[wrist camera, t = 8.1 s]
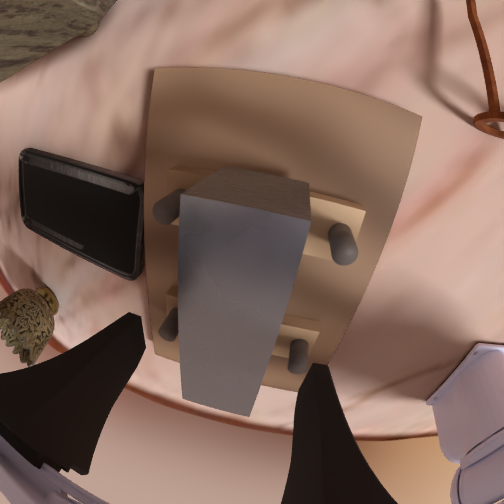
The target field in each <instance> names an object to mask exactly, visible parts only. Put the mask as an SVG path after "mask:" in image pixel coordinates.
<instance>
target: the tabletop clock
mask: <svg viewBox="0 0 504 504" xmlns="http://www.w3.org/2000/svg"><path fill="white" fill-rule="evenodd" d="M116 1H117V0H0V82H1V81H3V80H5V79H7V78H9V77H11V76H12V75H14V74H15V73H17V72H18V71H20V70H21V69H23V68H24V67H26V66H28V65H29V64H31V63H32V62H34V61H36V60H37V59H39V58H41V57H43V56H44V55H46V54H47V53H49V52H51V51H52V50H54V49H55V48H57V47H59V46H60V45H62V44H64V43H65V42H67V41H69V40H71V39H73V38H74V37H76V36H78V35H80V36H89V35H91V34H93V33H94V32H95V31H96V30H97V28H98V21H100V20H101V19H102V17H103V16H104V15H105V14H106V12H107V11H108V10H109V9H110V8H111V7H112V5H113V4H114V3H115V2H116Z"/></svg>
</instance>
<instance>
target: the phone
mask: <svg viewBox="0 0 504 504" xmlns="http://www.w3.org/2000/svg"><path fill="white" fill-rule="evenodd" d="M19 193H20V207H21V216H22V220H23V222H24V224H25V226H26V227H27V228H29V229H30V230H32V231H34V232H35V233H37V234H39V235H41V236H42V237H44V238H46V239H48V240H49V241H51V242H53V243H55V244H57V245H59V246H60V247H62V248H64V249H66V250H68V251H70V252H72V253H74V254H75V255H77V256H79V257H81V258H83V259H85V260H87V261H89V262H91V263H93V264H95V265H97V266H99V267H101V268H103V269H105V270H107V271H109V272H111V273H114V274H116V275H118V276H120V277H122V278H124V279H127V280H135V279H136V278H137V277H138V276H139V275H140V274H141V273H142V272H143V269H144V259H145V240H144V181H142V180H140V179H137V178H134V177H131V176H127V175H124V174H121V173H118V172H114V171H111V170H108V169H104V168H101V167H98V166H94V165H91V164H87V163H84V162H80V161H77V160H73V159H70V158H66V157H63V156H59V155H55V154H52V153H48V152H44V151H40V150H37V149H33V148H28V149H25V150H23V151H21V153H20V155H19ZM143 240H144V245H143ZM142 263H143V264H142Z"/></svg>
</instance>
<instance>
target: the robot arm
mask: <svg viewBox="0 0 504 504" xmlns="http://www.w3.org/2000/svg"><path fill="white" fill-rule="evenodd" d="M145 349H146V345H145V339H144V333H143V326H142V320H141V316H138V315H136V314H133V313H130V312H128V313H127V314H125V315H124V316H122V317H121V318H119V319H118V320H116V321H115V322H113V323H112V324H110V325H109V326H107V327H106V328H104V329H103V330H101V331H100V332H98V333H97V334H95V335H93V336H92V337H90V338H89V339H87V340H86V341H84V342H82V343H80V344H79V345H77V346H75V347H74V348H72V349H70V350H68V351H66V352H64V353H62V354H60V355H58V356H56V357H54V358H52V359H50V360H47V361H44V362H42V363H39V364H36V365H34V366H31V367H28V368H24V369H21V370H17V371H13V372H7V373H1V374H0V491H1V492H2V493H3V495H4V496H5V497H6V498H7V499H8V501H9V502H10V503H11V504H81V503H83V504H109V503H107V502H106V501H104V500H102V499H100V498H98V497H96V496H94V495H93V494H91V493H89V492H88V491H86V490H84V489H83V488H81V487H80V486H78V485H76V484H75V483H73V482H72V481H70V480H69V479H67V478H66V477H64V476H63V475H62V474H60V473H59V472H60V470H61V469H63V470H64V471H66V472H69V470H70V468H71V469H73V470H74V471H76V472H77V473H79V474H80V475H87V474H88V473H89V469H90V465H91V461H92V458H93V454H94V451H95V448H96V445H97V442H98V439H99V437H100V434H101V431H102V429H103V426H104V424H105V422H106V419H107V417H108V415H109V413H110V411H111V409H112V407H113V405H114V403H115V401H116V400H117V398H118V397H119V395H120V393H121V392H122V390H123V389H124V387H125V385H126V384H127V382H128V381H129V379H130V377H131V376H132V374H133V373H134V371H135V369H136V368H137V366H138V364H139V362H140V360H141V358H142V355H143V353H144V351H145ZM426 405H432V408H433V412H434V417H435V421H436V426H437V431H438V437H439V442H440V447H441V450H442V452H443V454H444V456H445V457H446V458H447V459H448V460H449V461H451V462H453V463H460V467H459V468H458V469H457V471H456V473H455V475H454V478H453V480H452V484H451V490H450V497H451V502H452V504H493V503H495V502H497V501H499V500H501V499H503V498H504V345H495V344H484V343H478V344H476V345H475V346H474V347H473V349H472V350H471V351H470V353H469V354H468V355H467V356H466V358H465V359H464V360H463V361H462V363H461V364H460V365H459V366H458V367H457V369H456V370H455V371H454V372H453V373H452V374H451V375H450V377H449V378H448V379H447V380H446V381H445V382H444V383H443V384H442V385H441V386H440V388H439V389H438V390H437V391H436V392H435V393H434V394H433V395H432V396H431V397H430V398H429V399H428V400H427V401H426ZM67 494H69V495H71V496H72V497H73V498H75V499H76V500H78V501H80V502H81V503H79V502H77V501H75V500H73V499H71V498H69V497H68V496H67ZM281 504H398V503H397V502H396V501H395V500H394V499H393V498H392V497H391V495H390V494H389V493H388V492H387V491H386V489H385V488H384V487H383V485H382V484H381V483H380V481H379V480H378V478H377V477H376V475H375V474H374V472H373V471H372V470H371V468H370V467H369V465H368V463H367V461H366V460H365V458H364V456H363V454H362V453H361V451H360V449H359V447H358V445H357V443H356V441H355V439H354V437H353V434H352V432H351V430H350V428H349V425H348V423H347V420H346V418H345V415H344V413H343V410H342V407H341V404H340V402H339V399H338V396H337V393H336V390H335V386H334V383H333V380H332V376H331V373H330V369H329V367H328V365H324V364H318V363H312V365H311V367H310V369H309V371H308V373H307V375H306V377H305V379H304V380H303V382H302V384H301V386H300V388H299V389H298V395H297V401H296V406H295V414H294V428H293V443H292V456H291V463H290V469H289V474H288V478H287V483H286V486H285V490H284V494H283V498H282V502H281ZM498 504H504V500H503V501H502V502H500V503H498Z"/></svg>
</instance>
